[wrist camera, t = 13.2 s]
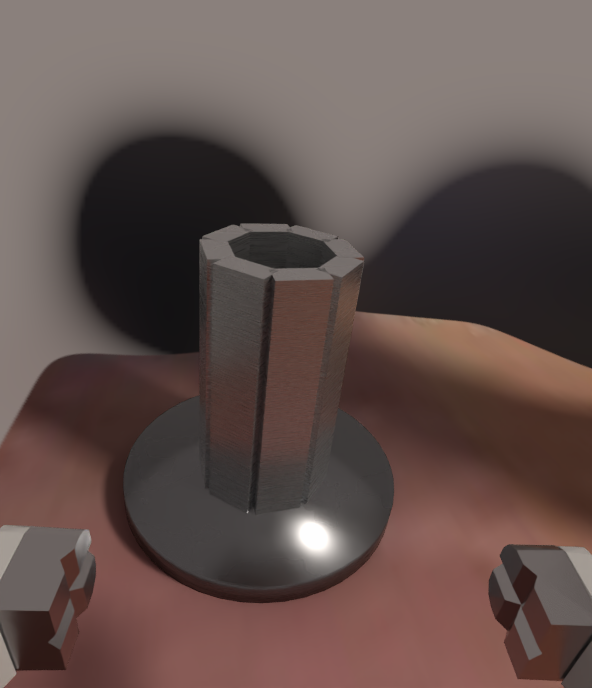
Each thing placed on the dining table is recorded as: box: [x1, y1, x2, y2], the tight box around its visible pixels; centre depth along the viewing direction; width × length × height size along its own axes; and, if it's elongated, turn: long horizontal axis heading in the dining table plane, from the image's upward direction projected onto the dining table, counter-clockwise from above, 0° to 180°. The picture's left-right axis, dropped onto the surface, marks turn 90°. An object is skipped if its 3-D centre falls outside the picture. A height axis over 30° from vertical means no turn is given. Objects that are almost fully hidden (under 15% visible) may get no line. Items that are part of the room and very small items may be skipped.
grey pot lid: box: [123, 395, 394, 603], centre depth 26 cm, size 14×14×5 cm
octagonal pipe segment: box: [199, 224, 364, 515], centre depth 24 cm, size 6×6×12 cm
